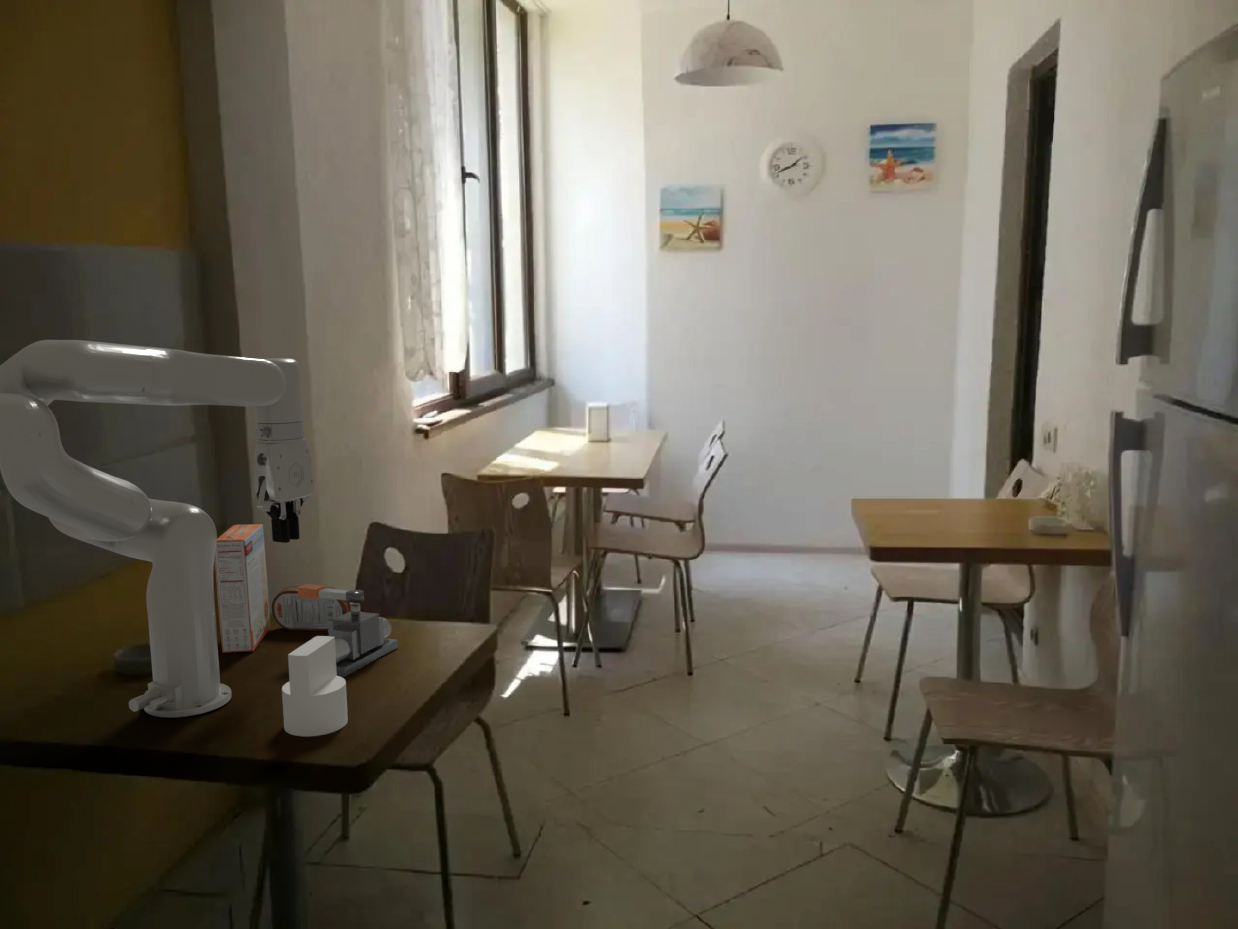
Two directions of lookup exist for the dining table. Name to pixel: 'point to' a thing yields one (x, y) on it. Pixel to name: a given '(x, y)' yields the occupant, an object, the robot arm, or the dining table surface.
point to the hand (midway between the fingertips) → (286, 539)
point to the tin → (306, 611)
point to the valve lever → (329, 593)
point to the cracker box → (242, 588)
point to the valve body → (360, 639)
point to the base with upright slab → (314, 690)
